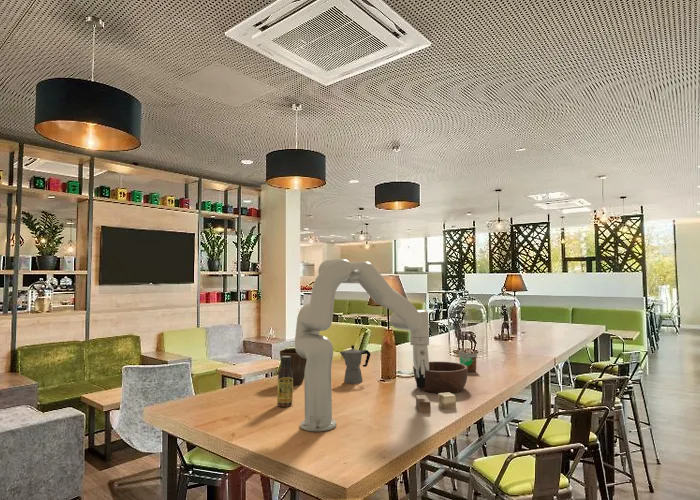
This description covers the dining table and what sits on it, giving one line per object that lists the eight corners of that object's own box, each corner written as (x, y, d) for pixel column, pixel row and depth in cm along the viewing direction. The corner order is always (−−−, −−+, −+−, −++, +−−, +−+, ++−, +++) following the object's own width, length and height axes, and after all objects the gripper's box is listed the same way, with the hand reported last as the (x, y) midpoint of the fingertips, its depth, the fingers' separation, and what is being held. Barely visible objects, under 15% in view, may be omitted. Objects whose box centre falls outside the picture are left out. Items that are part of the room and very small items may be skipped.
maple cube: (456, 408, 178) (455, 395, 178) (444, 409, 177) (444, 396, 177) (449, 404, 183) (449, 392, 183) (438, 406, 181) (438, 393, 182)
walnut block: (425, 405, 182) (430, 412, 173) (415, 405, 182) (420, 412, 172) (425, 395, 183) (430, 402, 173) (415, 395, 183) (419, 402, 173)
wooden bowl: (403, 386, 215) (402, 364, 216) (444, 380, 227) (444, 359, 227) (436, 398, 193) (435, 374, 194) (480, 390, 204) (479, 367, 205)
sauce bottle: (278, 408, 182) (277, 358, 183) (276, 404, 188) (276, 355, 189) (294, 406, 183) (293, 357, 185) (292, 402, 189) (291, 354, 191)
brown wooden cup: (312, 380, 231) (312, 348, 232) (307, 387, 216) (306, 353, 217) (283, 380, 233) (283, 348, 234) (276, 387, 218) (276, 353, 219)
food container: (454, 369, 252) (453, 351, 253) (462, 368, 255) (462, 350, 256) (468, 373, 241) (468, 354, 242) (477, 372, 244) (477, 353, 244)
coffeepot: (339, 384, 222) (338, 346, 223) (340, 379, 231) (340, 344, 232) (370, 384, 221) (370, 346, 222) (371, 379, 230) (370, 343, 231)
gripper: (432, 343, 175) (434, 391, 174) (425, 338, 190) (426, 382, 189) (413, 343, 175) (414, 392, 174) (407, 338, 190) (408, 383, 189)
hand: (420, 387), depth 182 cm, fingers closed
